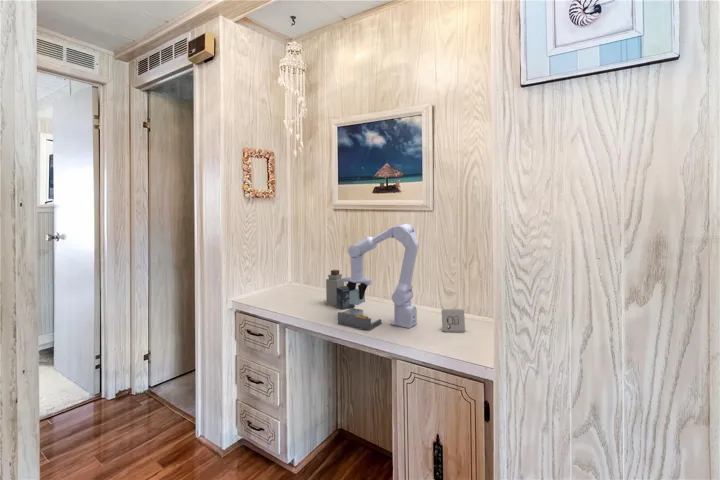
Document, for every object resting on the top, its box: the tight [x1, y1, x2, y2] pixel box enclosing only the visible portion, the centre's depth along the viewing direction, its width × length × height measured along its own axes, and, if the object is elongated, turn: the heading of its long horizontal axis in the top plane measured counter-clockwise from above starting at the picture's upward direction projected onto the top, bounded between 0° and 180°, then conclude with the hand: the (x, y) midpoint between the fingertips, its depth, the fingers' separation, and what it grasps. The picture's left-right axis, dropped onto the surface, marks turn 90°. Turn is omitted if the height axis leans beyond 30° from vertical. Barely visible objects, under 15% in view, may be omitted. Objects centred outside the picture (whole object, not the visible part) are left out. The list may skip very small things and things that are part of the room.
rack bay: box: [337, 307, 383, 331], centre depth 164 cm, size 17×10×6 cm, turn 57°
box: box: [336, 285, 356, 310], centre depth 189 cm, size 8×6×11 cm
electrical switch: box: [441, 308, 466, 333], centre depth 156 cm, size 9×5×9 cm, turn 87°
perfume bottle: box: [325, 269, 345, 307], centre depth 195 cm, size 7×7×18 cm
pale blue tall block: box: [350, 287, 366, 306], centre depth 175 cm, size 4×7×6 cm, turn 147°
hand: (357, 298), depth 175 cm, fingers closed on pale blue tall block, 4 cm apart
